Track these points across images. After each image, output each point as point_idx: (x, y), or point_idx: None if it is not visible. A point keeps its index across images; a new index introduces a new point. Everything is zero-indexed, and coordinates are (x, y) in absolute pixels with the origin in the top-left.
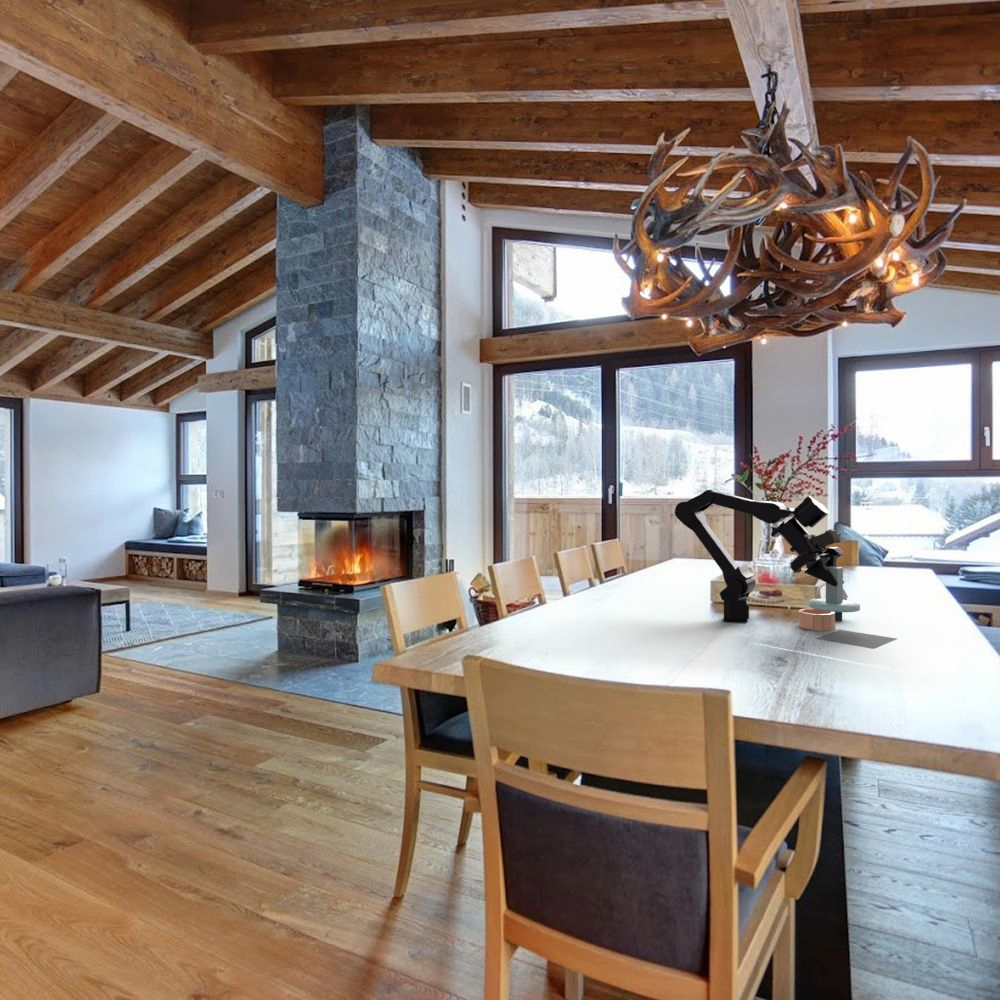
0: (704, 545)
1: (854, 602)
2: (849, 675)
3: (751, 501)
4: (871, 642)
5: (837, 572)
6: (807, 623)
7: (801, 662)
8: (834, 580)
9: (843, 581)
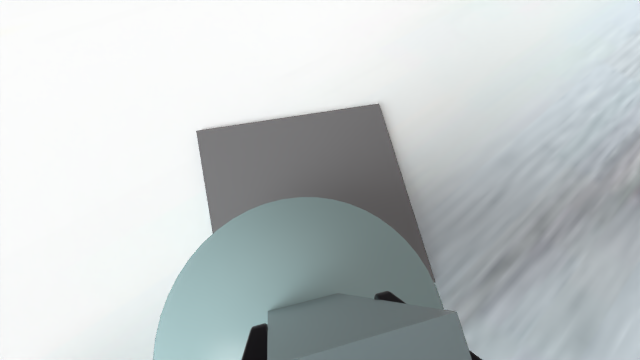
0: None
1: (186, 286)
2: (586, 30)
3: None
4: (320, 146)
5: (426, 309)
6: None
7: (619, 137)
8: None
9: (255, 332)
